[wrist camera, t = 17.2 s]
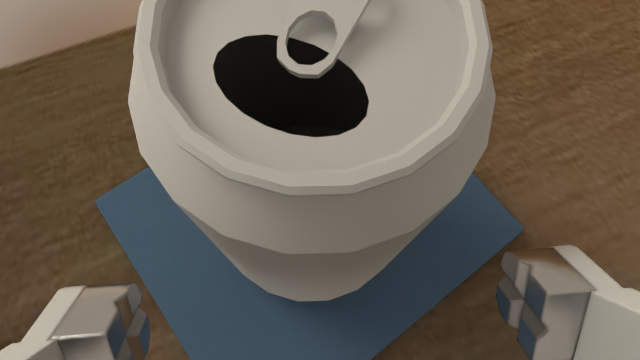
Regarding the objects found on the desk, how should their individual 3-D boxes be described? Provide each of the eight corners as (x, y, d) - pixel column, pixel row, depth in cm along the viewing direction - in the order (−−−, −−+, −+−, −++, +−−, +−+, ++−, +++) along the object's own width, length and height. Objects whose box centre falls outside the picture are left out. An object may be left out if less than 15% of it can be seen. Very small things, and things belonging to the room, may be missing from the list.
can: (188, 254, 18) (-14, 105, 7) (272, 109, 20) (229, -179, 9) (356, 337, 17) (450, 326, 6) (423, 174, 19) (582, -57, 8)
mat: (253, 457, 16) (252, 460, 15) (98, 204, 19) (93, 200, 19) (520, 231, 19) (525, 229, 19) (349, 46, 22) (350, 40, 22)
